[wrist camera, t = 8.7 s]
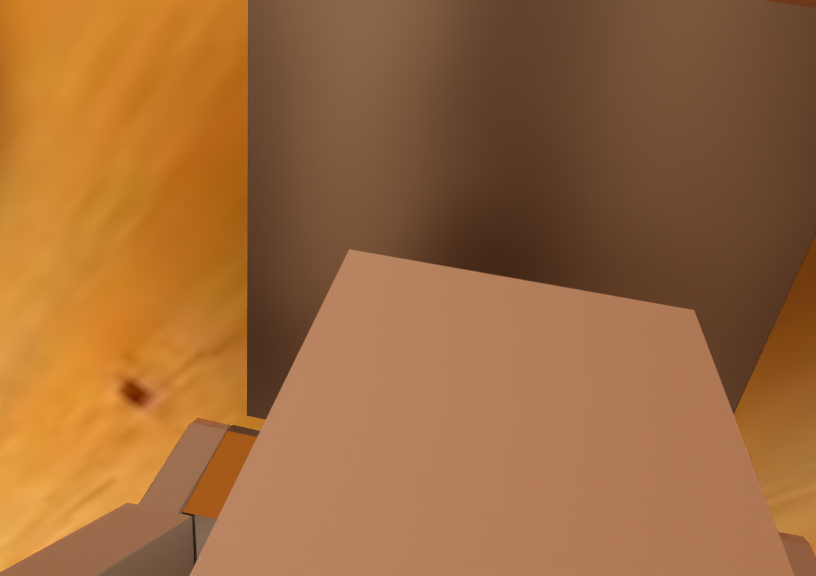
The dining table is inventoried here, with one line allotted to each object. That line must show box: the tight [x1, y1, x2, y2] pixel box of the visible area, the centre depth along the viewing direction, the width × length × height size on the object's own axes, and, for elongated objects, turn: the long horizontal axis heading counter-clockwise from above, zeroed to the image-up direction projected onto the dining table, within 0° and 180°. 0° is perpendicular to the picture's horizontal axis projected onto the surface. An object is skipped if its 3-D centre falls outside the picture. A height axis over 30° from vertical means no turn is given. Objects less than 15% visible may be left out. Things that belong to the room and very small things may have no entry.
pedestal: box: [247, 0, 816, 419], centre depth 19 cm, size 12×12×6 cm
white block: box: [190, 249, 795, 576], centre depth 9 cm, size 5×5×6 cm
